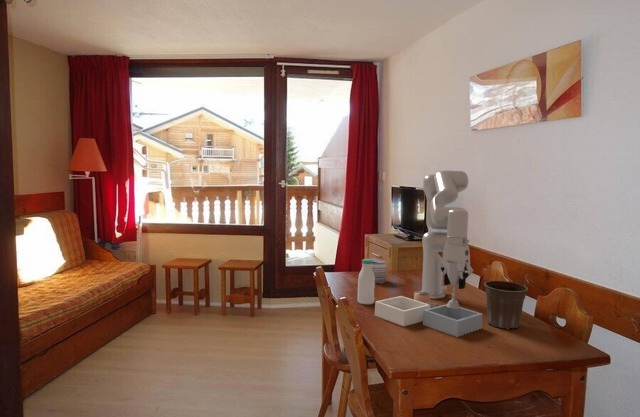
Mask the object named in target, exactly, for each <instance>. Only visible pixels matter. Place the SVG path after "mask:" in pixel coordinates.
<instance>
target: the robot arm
mask: <svg viewBox="0 0 640 417" xmlns="http://www.w3.org/2000/svg"><path fill="white" fill-rule="evenodd" d="M468 185H469V177H468V174H467V173H466V172H465V171H463V170H440V171H438V172H437V173H434V174H427V175H426V176H424V179H423V191H424V195H425V197H426V216H425V217H426V219H425V221H426V226H427V227H428V228H429V229H430V230H446V232H445V231H444V232H443V231H428V232H425V233H424V234H423V235H422V238H421V239H422V240H421V241H422V252H423V254H422V255H423V257H422V261H423V262H422V276H421V277H422V278H421V290H419V291H418V292H427V293H430V299H436V300H437V299H444V298H445V296H446V294H445V293H444V291H447V289H448V287H447V286H449V285H451V283H450V280H449V278H448V275H447V267H448V263H447V261H448V262H452V263H458V264H457V271H459V274H460V278H461V279H459V283H458V289H459V290H462V289H465V288H466V281H467V280H466V279H468V277H469V276H470V275H472V274H473V273H474V269H473V268H472V266H471V254H470V252H471V251H470V246H469V245H467V244H470V240H469V239H468V226H469V212H468V210H467V209H465V208H463V207H454V206H452V207H451V206H450V207H449V206H447V205H449V204H452V203H454V202H455V201H456V200H457V199H458V197H459V193H461V192H464V191H466V189H467V188H468ZM442 252H443V254H442V256H441V255H440V254H439V253H442Z"/></svg>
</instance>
